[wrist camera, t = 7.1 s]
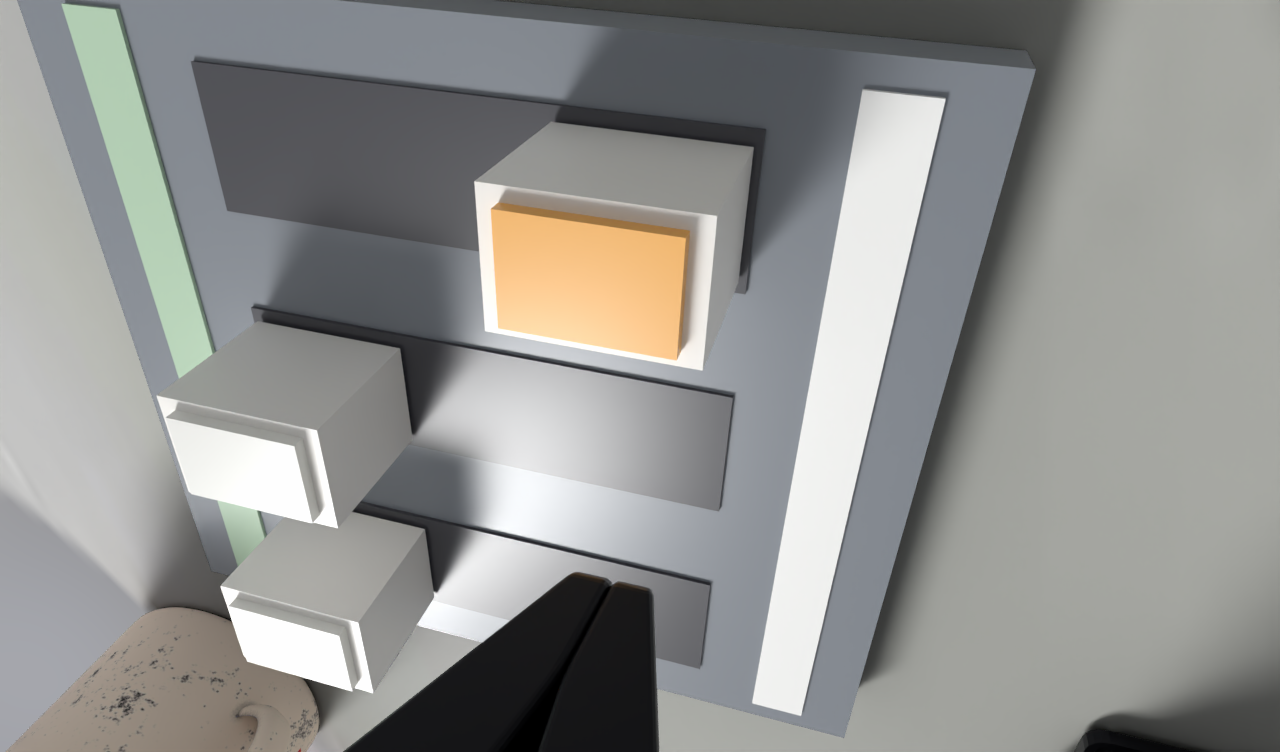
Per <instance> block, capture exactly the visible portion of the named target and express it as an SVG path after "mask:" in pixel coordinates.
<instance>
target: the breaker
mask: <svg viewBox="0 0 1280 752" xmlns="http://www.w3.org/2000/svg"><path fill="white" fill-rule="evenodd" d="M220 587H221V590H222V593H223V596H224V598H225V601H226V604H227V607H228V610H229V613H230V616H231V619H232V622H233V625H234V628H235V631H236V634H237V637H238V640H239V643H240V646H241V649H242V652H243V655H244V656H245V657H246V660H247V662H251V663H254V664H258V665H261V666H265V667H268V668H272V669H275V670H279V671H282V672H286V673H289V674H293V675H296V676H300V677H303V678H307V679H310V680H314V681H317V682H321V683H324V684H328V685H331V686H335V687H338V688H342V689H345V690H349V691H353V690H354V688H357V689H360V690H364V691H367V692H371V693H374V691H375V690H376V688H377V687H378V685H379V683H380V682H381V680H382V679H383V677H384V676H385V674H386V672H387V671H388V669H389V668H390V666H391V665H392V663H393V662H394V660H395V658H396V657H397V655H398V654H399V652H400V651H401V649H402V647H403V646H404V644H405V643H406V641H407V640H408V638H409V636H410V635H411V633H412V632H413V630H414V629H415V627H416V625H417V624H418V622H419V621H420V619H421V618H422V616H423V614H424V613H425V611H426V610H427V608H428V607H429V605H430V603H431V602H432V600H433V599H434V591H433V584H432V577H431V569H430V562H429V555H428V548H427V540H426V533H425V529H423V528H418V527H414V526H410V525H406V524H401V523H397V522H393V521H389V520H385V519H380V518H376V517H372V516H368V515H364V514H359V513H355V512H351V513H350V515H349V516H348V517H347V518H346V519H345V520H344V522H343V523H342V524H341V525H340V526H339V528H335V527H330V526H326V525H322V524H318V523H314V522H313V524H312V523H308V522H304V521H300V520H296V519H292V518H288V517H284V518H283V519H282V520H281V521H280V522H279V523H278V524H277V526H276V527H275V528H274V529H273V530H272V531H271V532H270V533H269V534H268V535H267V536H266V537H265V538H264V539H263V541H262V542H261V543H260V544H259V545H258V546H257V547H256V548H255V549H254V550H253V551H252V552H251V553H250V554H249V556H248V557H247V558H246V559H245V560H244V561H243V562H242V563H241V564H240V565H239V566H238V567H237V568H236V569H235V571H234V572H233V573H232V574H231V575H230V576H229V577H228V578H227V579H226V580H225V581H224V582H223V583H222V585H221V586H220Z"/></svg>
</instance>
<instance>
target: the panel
mask: <svg viewBox="0 0 1280 752" xmlns="http://www.w3.org/2000/svg"><path fill="white" fill-rule="evenodd" d="M17 1H18V4H19V7H20V10H21V13H22V16H23V19H24V21H25V24H26V27H27V30H28V33H29V36H30V39H31V42H32V45H33V48H34V51H35V54H36V57H37V60H38V63H39V66H40V69H41V72H42V74H43V77H44V80H45V83H46V86H47V89H48V92H49V95H50V98H51V101H52V104H53V107H54V110H55V113H56V116H57V119H58V122H59V124H60V127H61V130H62V133H63V136H64V139H65V142H66V145H67V148H68V151H69V154H70V157H71V160H72V163H73V166H74V169H75V172H76V175H77V177H78V180H79V183H80V186H81V189H82V192H83V195H84V198H85V201H86V204H87V207H88V210H89V213H90V216H91V219H92V222H93V225H94V227H95V230H96V233H97V236H98V239H99V242H100V245H101V248H102V251H103V254H104V257H105V260H106V263H107V266H108V269H109V272H110V275H111V278H112V280H113V283H114V286H115V289H116V292H117V295H118V298H119V301H120V304H121V307H122V310H123V313H124V316H125V319H126V322H127V325H128V328H129V330H130V333H131V336H132V339H133V342H134V345H135V348H136V351H137V354H138V357H139V360H140V363H141V366H142V369H143V372H144V375H145V378H146V381H147V383H148V386H149V389H150V392H151V395H152V398H153V401H154V404H155V407H156V410H157V413H158V416H159V419H160V422H161V425H162V428H163V431H164V433H165V436H166V439H167V442H168V445H169V448H170V451H171V454H172V457H173V460H174V463H175V466H176V469H177V472H178V475H179V478H180V481H181V484H182V486H183V489H184V492H185V495H186V498H187V501H188V504H189V507H190V510H191V513H192V516H193V519H194V522H195V525H196V528H197V531H198V534H199V536H200V539H201V542H202V545H203V548H204V551H205V554H206V557H207V560H208V563H209V566H210V569H211V571H213V572H216V573H220V574H224V575H228V576H230V575H231V574H232V573H233V572H234V571H235V569H236V568H237V567H238V566H239V565H240V564H241V563H242V562H243V561H244V560H245V559H246V558H247V557H248V556H249V554H250V553H251V552H252V551H253V550H254V549H255V548H256V547H257V546H258V545H259V544H260V543H261V542H262V541H263V539H264V538H265V537H266V536H267V535H268V534H269V533H270V532H271V531H272V530H273V529H274V528H275V527H276V526H277V524H278V523H279V522H280V521H281V520H282V519H283V518H284V516H279V515H275V514H271V513H267V512H263V511H259V510H255V509H251V508H247V507H242V506H238V505H234V504H230V503H226V502H222V501H218V500H214V499H209V498H205V497H201V496H197V495H193V494H191V493H190V492H189V491H188V488H187V485H186V482H185V479H184V476H183V474H182V471H181V468H180V465H179V462H178V459H177V456H176V453H175V450H174V447H173V444H172V441H171V438H170V435H169V432H168V429H167V426H166V423H165V420H164V417H163V414H162V411H161V408H160V405H159V402H158V399H157V396H156V395H158V394H159V393H160V392H162V391H163V390H164V389H166V388H167V387H169V386H170V385H171V384H173V383H174V382H175V381H177V380H178V379H179V378H181V377H182V376H184V375H185V374H186V373H188V372H189V371H190V370H192V369H193V368H194V367H196V366H197V365H199V364H200V363H201V362H203V361H204V360H205V359H207V358H208V357H209V356H211V355H212V354H214V353H215V352H216V351H218V350H219V349H220V348H222V347H223V346H224V345H226V344H227V343H229V342H230V341H231V340H233V339H234V338H235V337H237V336H238V335H240V334H241V333H242V332H244V331H245V330H246V329H248V328H249V327H250V326H252V325H253V324H255V323H256V322H257V321H259V322H264V323H269V324H275V325H280V326H285V327H290V328H296V329H301V330H306V331H312V332H317V333H322V334H327V335H333V336H338V337H343V338H348V339H354V340H359V341H364V342H369V343H375V344H380V345H385V346H390V347H396V348H400V352H401V359H402V366H403V373H404V381H405V388H406V395H407V402H408V410H409V417H410V424H411V431H412V439H413V440H412V441H411V442H410V443H409V444H408V445H407V447H406V448H405V449H404V450H403V451H402V453H401V454H400V455H399V456H398V457H397V459H396V460H395V461H394V462H393V463H392V465H391V466H390V467H389V468H388V469H387V470H386V472H385V473H384V474H383V475H382V476H381V478H380V479H379V480H378V481H377V482H376V484H375V485H374V486H373V487H372V488H371V490H370V491H369V492H368V493H367V494H366V495H365V497H364V498H363V499H362V500H361V501H360V503H359V504H358V505H357V506H356V507H355V509H354V510H353V511H352V512H355V513H359V514H364V515H368V516H372V517H376V518H380V519H385V520H389V521H393V522H397V523H401V524H406V525H410V526H414V527H418V528H423V529H425V533H426V540H427V548H428V555H429V562H430V569H431V577H432V584H433V591H434V599H433V600H432V602H431V603H430V605H429V607H428V608H427V610H426V611H425V613H424V614H423V616H422V618H421V619H420V621H419V622H418V624H417V626H421V627H425V628H429V629H433V630H436V631H440V632H444V633H448V634H452V635H455V636H459V637H463V638H467V639H471V640H474V641H478V642H484V641H485V640H486V639H487V638H489V637H490V636H491V635H492V634H494V633H495V632H496V631H498V630H499V629H500V628H501V627H503V626H504V625H505V624H506V623H508V622H509V621H510V620H512V619H513V618H514V617H515V616H517V615H518V614H519V613H520V612H522V611H523V610H524V609H526V608H527V607H528V606H529V605H531V604H532V603H533V602H534V601H536V600H537V599H538V598H540V597H541V596H542V595H543V594H545V593H546V592H547V591H548V590H550V589H551V588H552V587H554V586H555V585H556V584H557V583H559V582H560V581H561V580H562V579H564V578H565V577H566V576H568V575H569V574H571V573H574V572H582V573H587V574H591V575H595V576H600V577H604V578H607V579H609V580H610V581H611V582H612V584H614V583H615V582H618V581H622V582H626V583H631V584H635V585H639V586H644V587H648V588H650V589H651V590H652V591H653V594H654V613H655V643H656V672H657V689H660V690H664V691H668V692H672V693H675V694H679V695H683V696H687V697H691V698H694V699H698V700H702V701H706V702H710V703H713V704H717V705H721V706H725V707H729V708H732V709H736V710H740V711H744V712H748V713H751V714H755V715H759V716H763V717H766V718H770V719H774V720H778V721H782V722H785V723H789V724H793V725H797V726H801V727H804V728H808V729H812V730H816V731H820V732H823V733H827V734H831V735H835V736H839V737H842V738H844V736H845V733H846V729H847V726H848V722H849V719H850V715H851V712H852V708H853V705H854V701H855V698H856V694H857V691H858V687H859V684H860V680H861V677H862V673H863V670H864V666H865V663H866V660H867V656H868V653H869V649H870V646H871V642H872V639H873V635H874V632H875V628H876V625H877V621H878V618H879V614H880V611H881V607H882V604H883V600H884V597H885V593H886V590H887V586H888V583H889V579H890V576H891V572H892V569H893V565H894V562H895V558H896V555H897V552H898V548H899V545H900V541H901V538H902V534H903V531H904V527H905V524H906V520H907V517H908V513H909V510H910V506H911V503H912V499H913V496H914V492H915V489H916V485H917V482H918V478H919V475H920V471H921V468H922V464H923V461H924V457H925V454H926V451H927V447H928V444H929V440H930V437H931V433H932V430H933V426H934V423H935V419H936V416H937V412H938V409H939V405H940V402H941V398H942V395H943V391H944V388H945V384H946V381H947V377H948V374H949V370H950V367H951V363H952V360H953V356H954V353H955V350H956V346H957V343H958V339H959V336H960V332H961V329H962V325H963V322H964V318H965V315H966V311H967V308H968V304H969V301H970V297H971V294H972V290H973V287H974V283H975V280H976V276H977V273H978V269H979V266H980V262H981V259H982V255H983V252H984V249H985V245H986V242H987V238H988V235H989V231H990V228H991V224H992V221H993V217H994V214H995V210H996V207H997V203H998V200H999V196H1000V193H1001V189H1002V186H1003V182H1004V179H1005V175H1006V172H1007V168H1008V165H1009V161H1010V158H1011V154H1012V151H1013V147H1014V144H1015V141H1016V137H1017V134H1018V130H1019V127H1020V123H1021V120H1022V116H1023V113H1024V109H1025V106H1026V102H1027V99H1028V95H1029V92H1030V88H1031V85H1032V81H1033V78H1034V74H1035V71H1036V68H1035V66H1034V64H1033V63H1032V61H1031V59H1030V57H1029V55H1028V53H1027V51H1026V50H1015V49H1004V48H994V47H983V46H973V45H962V44H952V43H941V42H930V41H920V40H909V39H899V38H888V37H878V36H867V35H856V34H846V33H835V32H825V31H814V30H804V29H793V28H783V27H772V26H761V25H751V24H740V23H730V22H719V21H709V20H698V19H687V18H677V17H666V16H656V15H645V14H635V13H624V12H613V11H603V10H592V9H582V8H571V7H561V6H550V5H539V4H529V3H518V2H508V1H497V0H17ZM550 122H557V123H565V124H573V125H581V126H589V127H597V128H605V129H613V130H621V131H629V132H637V133H645V134H653V135H661V136H669V137H677V138H685V139H693V140H701V141H709V142H717V143H725V144H733V145H741V146H749V147H754V150H753V159H752V168H751V177H750V185H749V194H748V203H747V211H746V220H745V229H744V237H743V246H742V255H741V263H740V272H739V281H738V284H737V287H736V289H735V292H734V294H733V297H732V299H731V302H730V304H729V307H728V309H727V312H726V314H725V317H724V319H723V321H722V324H721V326H720V329H719V331H718V334H717V336H716V339H715V341H714V344H713V346H712V349H711V351H710V354H709V356H708V359H707V361H706V363H705V366H704V368H703V371H701V370H696V369H690V368H685V367H679V366H674V365H668V364H663V363H657V362H652V361H646V360H641V359H635V358H630V357H624V356H619V355H613V354H608V353H602V352H597V351H591V350H586V349H580V348H575V347H569V346H564V345H558V344H553V343H547V342H542V341H536V340H531V339H525V338H520V337H514V336H509V335H503V334H498V333H492V332H487V331H485V324H484V310H483V296H482V282H481V268H480V254H479V240H478V226H477V212H476V199H475V185H474V181H475V180H477V179H478V178H479V177H480V176H482V175H483V174H484V173H486V172H487V171H488V170H490V169H491V168H492V167H493V166H495V165H496V164H497V163H499V162H500V161H501V160H502V159H504V158H505V157H506V156H508V155H509V154H510V153H511V152H513V151H514V150H515V149H517V148H518V147H519V146H520V145H522V144H523V143H524V142H526V141H527V140H528V139H529V138H531V137H532V136H533V135H535V134H536V133H537V132H539V131H540V130H541V129H542V128H544V127H545V126H546V125H548V124H549V123H550Z"/></svg>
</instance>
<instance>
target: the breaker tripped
mask: <svg viewBox="0 0 1280 752" xmlns="http://www.w3.org/2000/svg"><path fill="white" fill-rule="evenodd" d="M753 150H754V147H749V146H741V145H733V144H725V143H717V142H709V141H701V140H693V139H685V138H677V137H669V136H661V135H653V134H645V133H637V132H629V131H621V130H613V129H605V128H597V127H589V126H581V125H573V124H565V123H557V122H550V123H549V124H548V125H546V126H545V127H544V128H542V129H541V130H540V131H539V132H537V133H536V134H535V135H533V136H532V137H531V138H529V139H528V140H527V141H526V142H524V143H523V144H522V145H520V146H519V147H518V148H517V149H515V150H514V151H513V152H511V153H510V154H509V155H508V156H506V157H505V158H504V159H502V160H501V161H500V162H499V163H497V164H496V165H495V166H493V167H492V168H491V169H490V170H488V171H487V172H486V173H484V174H483V175H482V176H480V177H479V178H478V179H477V180H475V181H474V185H475V199H476V212H477V226H478V240H479V254H480V268H481V282H482V296H483V310H484V324H485V331H487V332H492V333H498V334H503V335H509V336H514V337H520V338H525V339H531V340H536V341H542V342H547V343H553V344H558V345H564V346H569V347H575V348H580V349H586V350H591V351H597V352H602V353H608V354H613V355H619V356H624V357H630V358H635V359H641V360H646V361H652V362H657V363H663V364H668V365H674V366H679V367H685V368H690V369H696V370H701V371H703V368H704V366H705V363H706V361H707V359H708V356H709V354H710V351H711V349H712V346H713V344H714V341H715V339H716V336H717V334H718V331H719V329H720V326H721V324H722V321H723V319H724V317H725V314H726V312H727V309H728V307H729V304H730V302H731V299H732V297H733V294H734V292H735V289H736V287H737V284H738V281H739V272H740V263H741V255H742V246H743V237H744V229H745V220H746V211H747V203H748V194H749V185H750V177H751V168H752V159H753Z"/></svg>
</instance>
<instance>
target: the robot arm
mask: <svg viewBox="0 0 1280 752" xmlns="http://www.w3.org/2000/svg"><path fill="white" fill-rule="evenodd" d="M343 752H659V730H658V701H657V672H656V643H655V613H654V594H653V591H652V590H651V589H650V588H648V587H644V586H639V585H635V584H631V583H626V582H622V581H618V582H615V583H614V584H612V582H611V581H610V580H609V579H607V578H604V577H600V576H595V575H591V574H587V573H582V572H574V573H571V574H569V575H568V576H566V577H565V578H564V579H562V580H561V581H560V582H559V583H557V584H556V585H555V586H554V587H552V588H551V589H550V590H548V591H547V592H546V593H545V594H543V595H542V596H541V597H540V598H538V599H537V600H536V601H534V602H533V603H532V604H531V605H529V606H528V607H527V608H526V609H524V610H523V611H522V612H520V613H519V614H518V615H517V616H515V617H514V618H513V619H512V620H510V621H509V622H508V623H506V624H505V625H504V626H503V627H501V628H500V629H499V630H498V631H496V632H495V633H494V634H492V635H491V636H490V637H489V638H487V639H486V640H485V641H484V642H482V643H481V644H480V645H478V646H477V647H476V648H475V649H473V650H472V651H471V652H469V653H468V654H467V655H466V656H464V657H463V658H462V659H461V660H459V661H458V662H457V663H455V664H454V665H453V666H452V667H450V668H449V669H448V670H447V671H445V672H444V673H443V674H441V675H440V676H439V677H438V678H436V679H435V680H434V681H433V682H431V683H430V684H429V685H427V686H426V687H425V688H424V689H422V690H421V691H420V692H419V693H417V694H416V695H415V696H413V697H412V698H411V699H410V700H408V701H407V702H406V703H405V704H403V705H402V706H401V707H399V708H398V709H397V710H396V711H394V712H393V713H392V714H391V715H389V716H388V717H387V718H385V719H384V720H383V721H382V722H380V723H379V724H378V725H376V726H375V727H374V728H373V729H371V730H370V731H369V732H368V733H366V734H365V735H364V736H362V737H361V738H360V739H359V740H357V741H356V742H355V743H354V744H352V745H351V746H350V747H348V748H347V749H346V750H345V751H343ZM1074 752H1193V751H1189V750H1185V749H1181V748H1177V747H1173V746H1168V745H1164V744H1160V743H1156V742H1152V741H1148V740H1144V739H1140V738H1136V737H1132V736H1128V735H1124V734H1120V733H1116V732H1112V731H1107V730H1092V731H1090V732H1087V733H1086V734H1085V735H1084V736H1083V737H1082V738H1081V740H1080V742H1079V744H1078V746H1077V748H1076V749H1075V751H1074Z"/></svg>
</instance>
